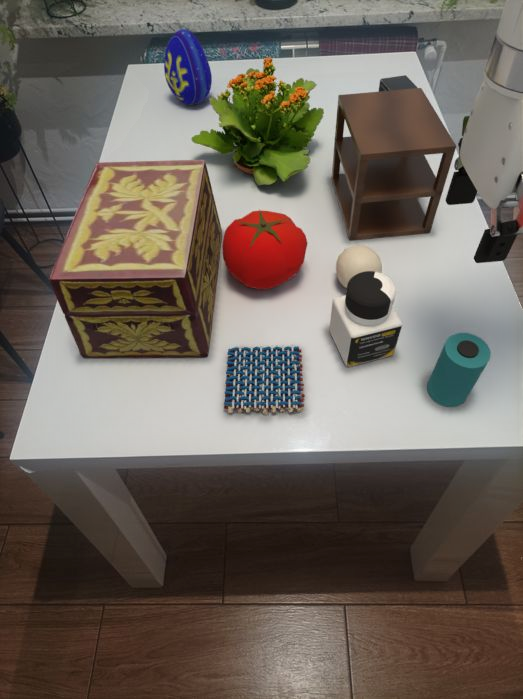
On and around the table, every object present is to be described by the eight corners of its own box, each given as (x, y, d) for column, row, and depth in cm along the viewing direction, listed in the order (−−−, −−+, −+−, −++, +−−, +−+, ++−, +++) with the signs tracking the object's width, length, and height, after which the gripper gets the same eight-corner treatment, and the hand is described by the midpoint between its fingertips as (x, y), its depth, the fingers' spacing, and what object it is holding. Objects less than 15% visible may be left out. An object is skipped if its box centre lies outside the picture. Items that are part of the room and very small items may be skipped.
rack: (402, 172, 92) (421, 87, 79) (429, 233, 81) (456, 145, 69) (331, 179, 92) (338, 94, 79) (349, 240, 81) (361, 154, 68)
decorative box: (120, 233, 85) (92, 157, 73) (222, 231, 84) (211, 153, 72) (81, 358, 69) (37, 286, 57) (208, 357, 68) (191, 284, 56)
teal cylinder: (459, 371, 65) (482, 329, 57) (473, 404, 61) (498, 364, 54) (422, 375, 64) (439, 333, 57) (433, 408, 61) (453, 368, 54)
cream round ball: (365, 262, 78) (371, 230, 72) (384, 293, 74) (392, 261, 68) (327, 272, 77) (330, 240, 72) (344, 303, 73) (348, 272, 67)
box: (411, 144, 98) (423, 91, 89) (385, 148, 97) (394, 96, 89) (396, 125, 102) (406, 73, 94) (371, 129, 102) (379, 77, 93)
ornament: (163, 102, 113) (148, 31, 101) (191, 87, 117) (180, 17, 105) (194, 116, 109) (183, 43, 97) (223, 100, 113) (215, 28, 100)
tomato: (222, 301, 74) (214, 250, 66) (227, 248, 81) (220, 196, 73) (307, 300, 74) (310, 248, 65) (305, 246, 81) (307, 193, 72)
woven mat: (305, 415, 62) (305, 407, 60) (224, 415, 62) (222, 408, 60) (302, 350, 68) (302, 342, 66) (228, 351, 68) (227, 343, 67)
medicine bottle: (346, 368, 66) (356, 311, 56) (328, 330, 70) (334, 271, 60) (393, 356, 67) (411, 298, 57) (373, 319, 71) (387, 259, 61)
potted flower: (179, 187, 93) (160, 95, 79) (215, 124, 106) (204, 37, 92) (305, 201, 88) (309, 107, 74) (325, 134, 102) (332, 44, 88)
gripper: (642, 110, 33) (539, 283, 47) (539, 17, 43) (480, 180, 57) (535, 119, 33) (464, 289, 47) (457, 24, 43) (418, 186, 57)
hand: (473, 229), depth 52 cm, fingers open, 9 cm apart
